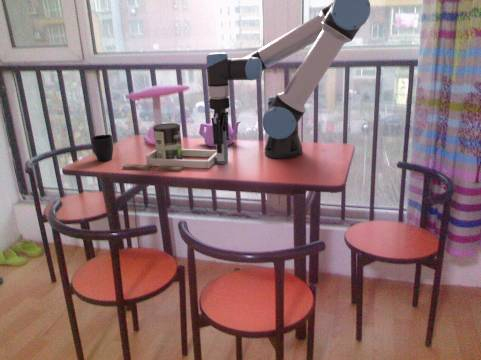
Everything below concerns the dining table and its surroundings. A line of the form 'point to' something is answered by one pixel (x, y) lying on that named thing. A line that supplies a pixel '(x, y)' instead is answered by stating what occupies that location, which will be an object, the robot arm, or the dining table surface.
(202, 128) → the teapot
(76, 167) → the dining table surface
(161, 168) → the broken strip
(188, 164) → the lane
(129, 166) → the broken strip
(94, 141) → the mug
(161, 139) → the coffee can
